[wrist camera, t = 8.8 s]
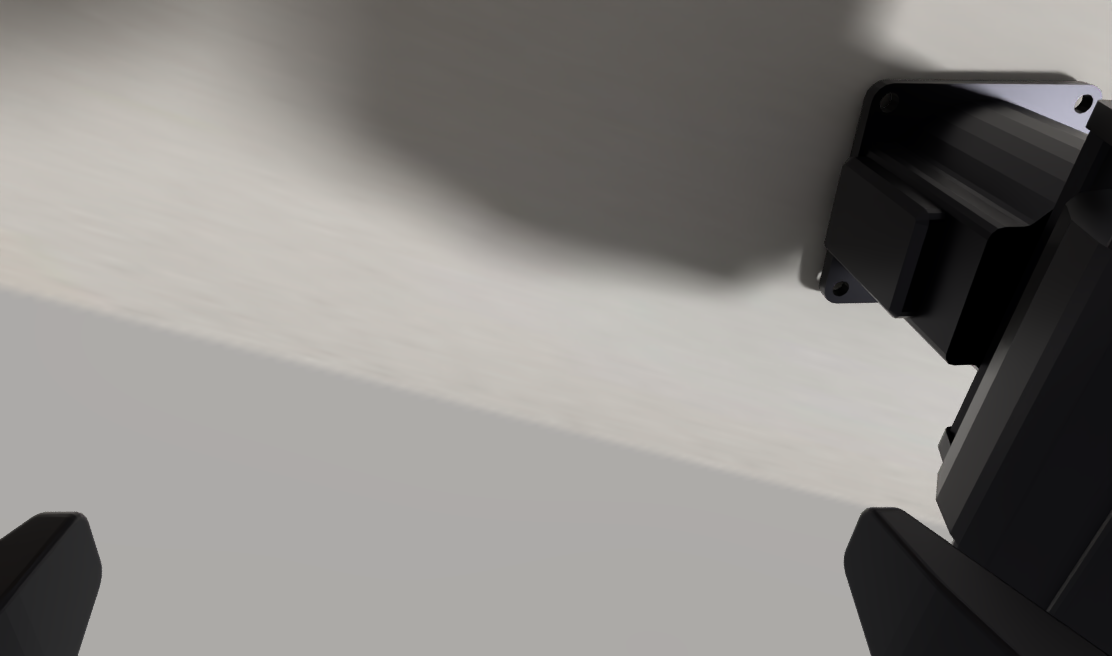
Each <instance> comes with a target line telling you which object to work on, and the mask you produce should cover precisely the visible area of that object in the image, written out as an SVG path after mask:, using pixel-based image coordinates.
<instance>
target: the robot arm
mask: <svg viewBox="0 0 1112 656" xmlns="http://www.w3.org/2000/svg"><path fill="white" fill-rule="evenodd" d="M888 93H891V94H892V99H891V101H890V103H889V104H888V105H887V106H886V107H884V108H880V102H881V100H882V98H883V97H884V96H885V95H886V94H888ZM1082 95H1083V98H1082V101H1081V103H1080V104H1079V105H1078V106H1077V107H1076V108H1074V106H1075V103H1076V101H1077V100H1078V99H1079V98H1080V97H1081V96H1082ZM824 244H825V247H826V248H827V249H828V250H827V254H826V258H825V262H824V266H823V270H822V274H821V278H820V283H819V289H820V291H821V293H822V294H823V295H824V297H825V298H826V299H827V300H828V301H830V302H831V303H879V304H880V305H881V306H882V307H883V308H884V309H885V310H886V311H887V312H888V313H889V314H890V315H891V316H892V317H894V318H904V319H905V320H906V321H907V322H908V323H909V324H910V325H911V326H912V327H913V328H914V329H915V330H916V331H917V332H918V333H919V334H920V335H921V336H922V337H923V338H924V339H925V340H926V341H927V343H928V344H929V345H930V346H931V347H932V348H933V349H934V350H935V351H936V352H937V353H938V354H939V355H940V356H941V357H942V358H943V359H944V360H945V361H946V362H947V363H948V364H951V365H972V366H973V367H974V368H975V369H976V370H977V374H976V376H975V378H974V380H973V382H972V384H971V386H970V389H969V391H968V393H967V395H966V397H965V399H964V401H963V404H962V406H961V408H960V410H959V412H958V414H957V416H956V419H955V421H954V423H953V425H952V426H951V427H947V428H946V429H945V431H944V434H943V436H942V438H941V440H940V442H939V444H938V448H939V452H940V455H941V458H942V461H943V463H942V466H941V468H940V470H939V472H938V476H937V491H936V501H937V504H938V506H939V509H940V511H941V513H942V516H943V518H944V521H945V523H946V525H947V528H948V530H949V533H950V534H951V536H952V537H953V539H954V540H953V542H952V544H950V543H949V542H948V541H946V540H945V539H943V538H942V537H940V536H939V535H938V534H936V533H935V532H933V531H932V530H930V529H929V528H928V527H926V526H925V525H923V524H922V523H921V522H919V521H918V520H916V519H915V518H913V517H912V516H911V515H909V514H908V513H906V512H905V511H903V510H901V509H899V508H895V507H870V508H867V509H866V510H864V511H863V512H862V513H861V515H860V517H859V520H858V522H857V525H856V527H855V529H854V532H853V534H852V536H851V539H850V541H849V543H848V546H847V548H846V551H845V555H844V569H845V574H846V577H847V580H848V583H849V587H850V590H851V593H852V596H853V599H854V603H855V606H856V609H857V612H858V615H859V619H860V622H861V625H862V628H863V631H864V635H865V638H866V641H867V644H868V647H869V650H870V654H871V656H1112V100H1102V92H1101V90H1100V89H1099V88H1098V87H1097V86H1095V85H1092V84H1089V83H1085V82H1081V81H998V80H899V79H887V80H881V81H879V82H877V83H875V84H874V85H872V87H871V88H870V89H869V90H868V91H867V94H866V96H865V98H864V102H863V106H862V110H861V114H860V118H859V122H858V127H857V131H856V135H855V139H854V143H853V147H852V151H851V155H850V158H849V159H848V160H847V161H846V162H845V164H844V165H843V167H842V171H841V175H840V179H839V183H838V188H837V192H836V196H835V200H834V204H833V208H832V213H831V217H830V221H829V225H828V229H827V234H826V238H825V242H824ZM841 281H843V284H842V286H841V287H840V288H838V289H836V290H833V287H834V285H835V284H837V283H838V282H841ZM101 578H102V565H101V561H100V557H99V554H98V551H97V548H96V545H95V541H94V538H93V535H92V532H91V529H90V526H89V522H88V520H87V518H86V517H85V516H84V515H83V514H82V513H78V512H43V513H40V514H37V515H35V516H33V517H32V518H30V519H29V520H27V521H26V522H24V523H23V524H22V525H20V526H19V527H17V528H16V529H14V530H13V531H11V532H10V533H9V534H7V535H6V536H4V537H3V538H1V539H0V656H78V653H79V650H80V647H81V644H82V640H83V637H84V634H85V631H86V628H87V625H88V621H89V619H90V615H91V612H92V609H93V606H94V603H95V600H96V597H97V594H98V590H99V587H100V583H101Z"/></svg>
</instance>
